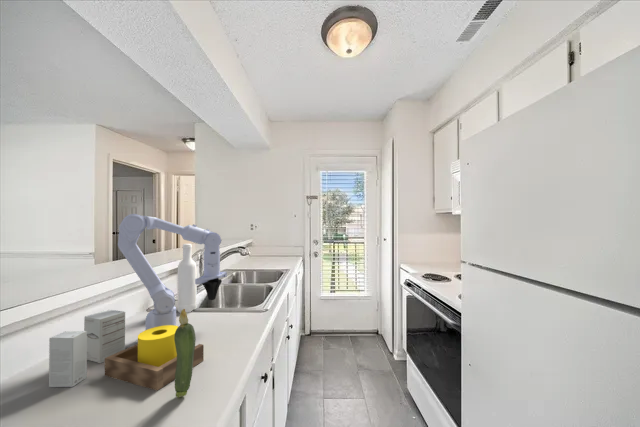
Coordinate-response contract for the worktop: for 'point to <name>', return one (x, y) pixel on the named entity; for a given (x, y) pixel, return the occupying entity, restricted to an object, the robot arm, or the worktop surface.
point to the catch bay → (144, 368)
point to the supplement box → (104, 334)
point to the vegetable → (184, 354)
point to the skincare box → (67, 358)
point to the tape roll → (157, 345)
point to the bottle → (187, 281)
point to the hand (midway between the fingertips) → (212, 299)
